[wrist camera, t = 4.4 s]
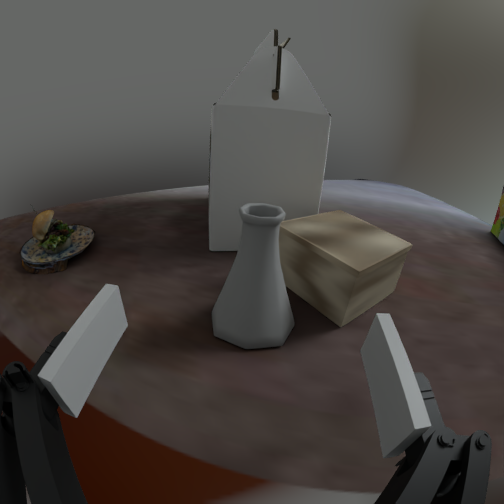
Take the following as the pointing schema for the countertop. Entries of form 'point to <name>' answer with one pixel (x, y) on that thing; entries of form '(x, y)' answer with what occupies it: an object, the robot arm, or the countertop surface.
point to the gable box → (266, 143)
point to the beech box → (340, 263)
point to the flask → (255, 285)
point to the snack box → (499, 221)
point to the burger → (53, 244)
